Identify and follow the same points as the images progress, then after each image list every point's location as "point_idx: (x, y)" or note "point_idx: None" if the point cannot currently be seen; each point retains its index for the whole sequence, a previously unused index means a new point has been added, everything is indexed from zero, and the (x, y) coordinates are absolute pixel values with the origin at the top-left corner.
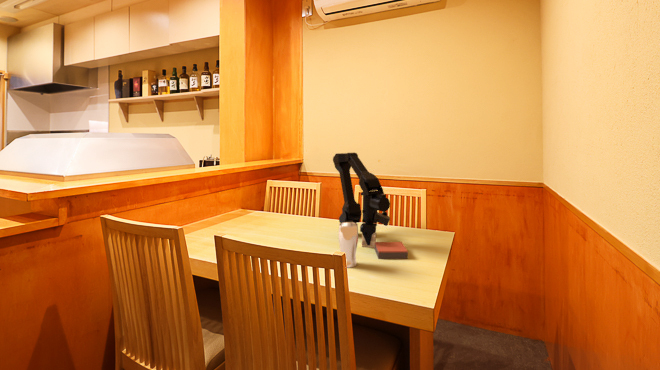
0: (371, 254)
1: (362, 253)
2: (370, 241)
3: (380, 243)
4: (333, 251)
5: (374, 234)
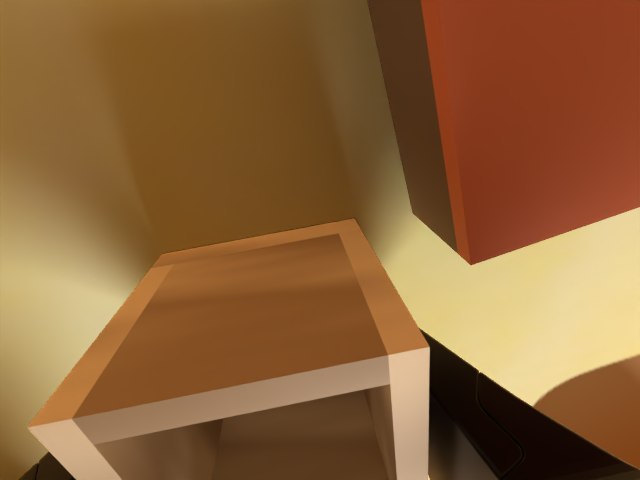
0: None
1: (570, 296)
2: (427, 334)
3: (562, 131)
4: None
5: (268, 406)
